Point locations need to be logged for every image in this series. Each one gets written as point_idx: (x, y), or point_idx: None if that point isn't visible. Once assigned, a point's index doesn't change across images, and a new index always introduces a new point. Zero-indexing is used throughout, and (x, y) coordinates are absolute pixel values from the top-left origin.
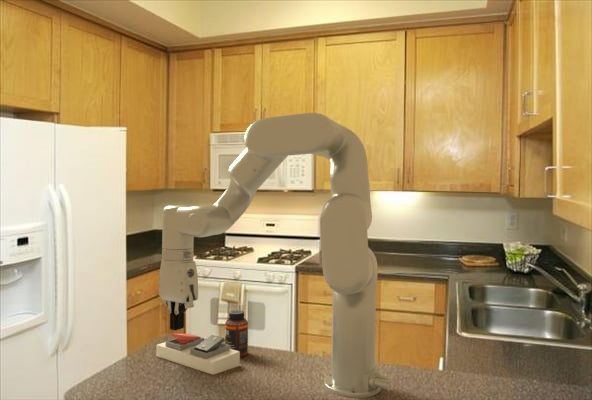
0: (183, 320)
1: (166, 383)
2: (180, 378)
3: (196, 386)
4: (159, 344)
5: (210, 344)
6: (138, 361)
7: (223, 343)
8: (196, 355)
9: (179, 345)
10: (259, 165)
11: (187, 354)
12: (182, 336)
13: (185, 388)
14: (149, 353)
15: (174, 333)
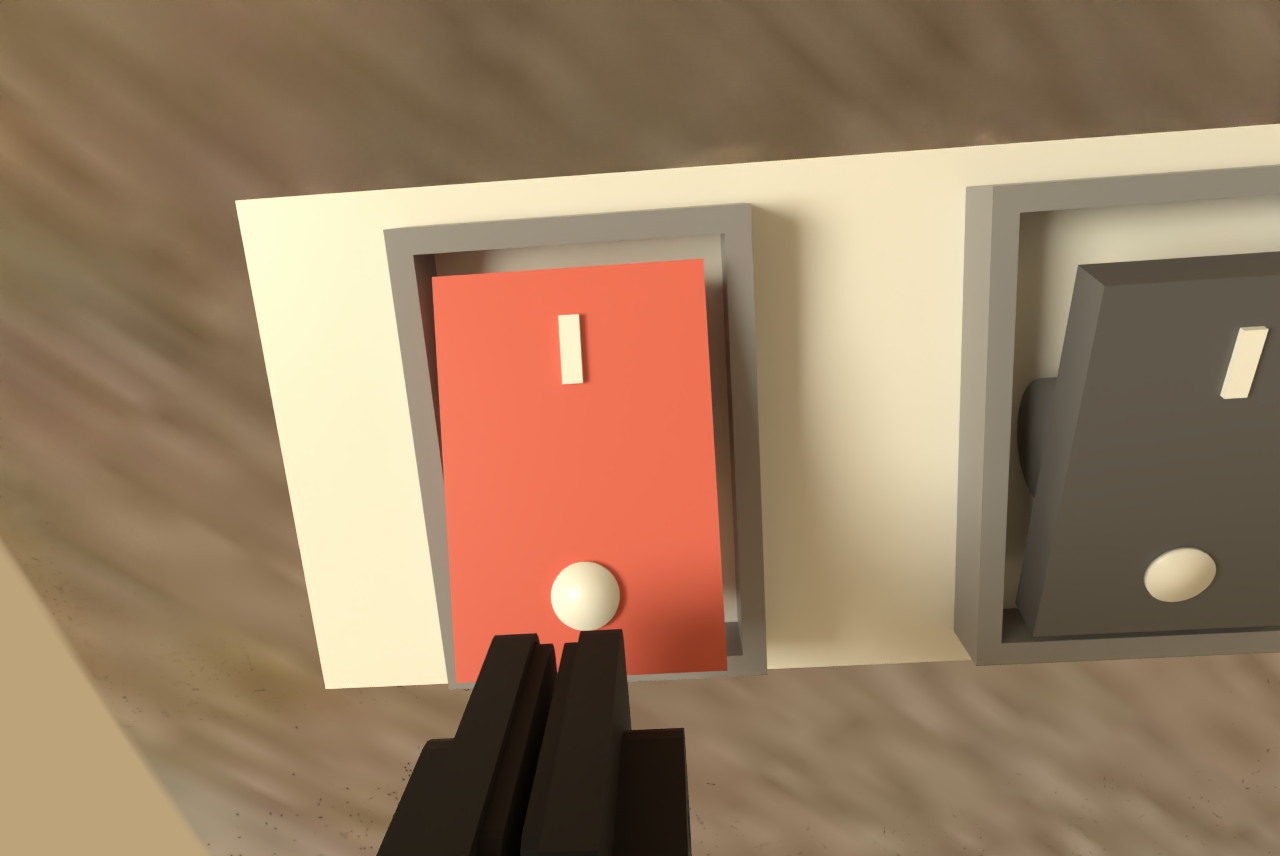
0: (683, 784)
1: (949, 840)
2: (967, 709)
3: (1230, 728)
4: (340, 658)
5: (1260, 502)
6: (282, 710)
7: (1238, 175)
8: None
9: (739, 669)
10: None
11: (937, 660)
12: (726, 666)
13: (1173, 806)
14: (132, 515)
15: (469, 633)
